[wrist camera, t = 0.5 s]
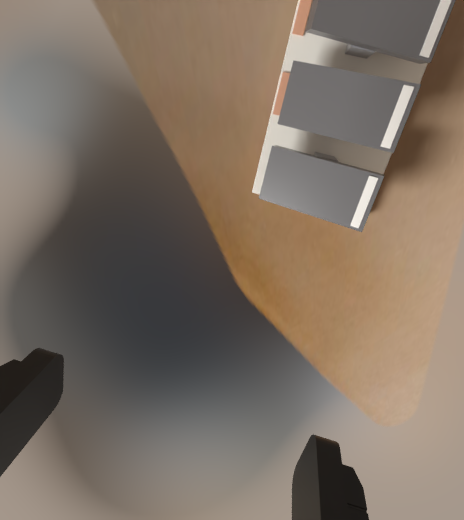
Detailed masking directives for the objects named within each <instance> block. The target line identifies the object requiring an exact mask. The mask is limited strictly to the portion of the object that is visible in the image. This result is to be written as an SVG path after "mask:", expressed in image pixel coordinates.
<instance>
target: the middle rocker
mask: <svg viewBox="0 0 464 520" xmlns="http://www.w3.org/2000/svg"><path fill="white" fill-rule="evenodd" d="M420 86H421V84H417V83H411V82H406V81H401V80H395V79H390V78H385V77H379V76H374V75H369V74H363V73H358V72H353V71H348V70H342V69H337V68H332V67H326V66H321V65H316V64H310V63H305V62H300V61H294V60H293V64H292V68H291V72H290V76H289V80H288V84H287V88H286V92H285V96H284V100H283V104H282V108H281V112H280V116H279V120H278V124H279V125H283V126H287V127H291V128H295V129H299V130H303V131H307V132H311V133H315V134H319V135H323V136H327V137H331V138H335V139H339V140H343V141H347V142H351V143H355V144H359V145H363V146H367V147H371V148H375V149H379V150H383V151H387V152H391V153H394V151H395V148H396V146H397V143H398V141H399V138H400V136H401V133H402V131H403V128H404V126H405V123H406V121H407V118H408V116H409V113H410V111H411V108H412V106H413V103H414V101H415V98H416V96H417V93H418V91H419V88H420Z"/></svg>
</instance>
